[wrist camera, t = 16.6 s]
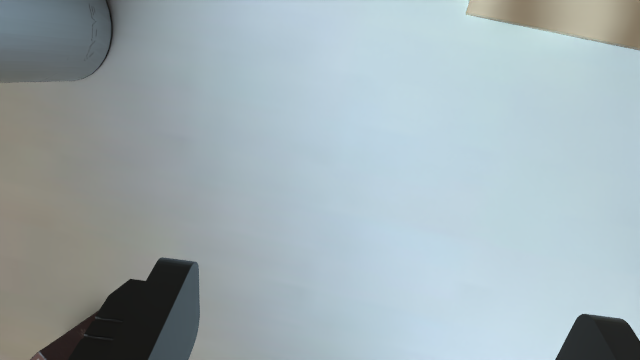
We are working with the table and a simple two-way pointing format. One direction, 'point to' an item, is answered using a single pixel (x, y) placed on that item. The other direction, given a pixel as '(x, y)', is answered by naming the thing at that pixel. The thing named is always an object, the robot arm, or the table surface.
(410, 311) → the table surface
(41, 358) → the box
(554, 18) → the socket board
